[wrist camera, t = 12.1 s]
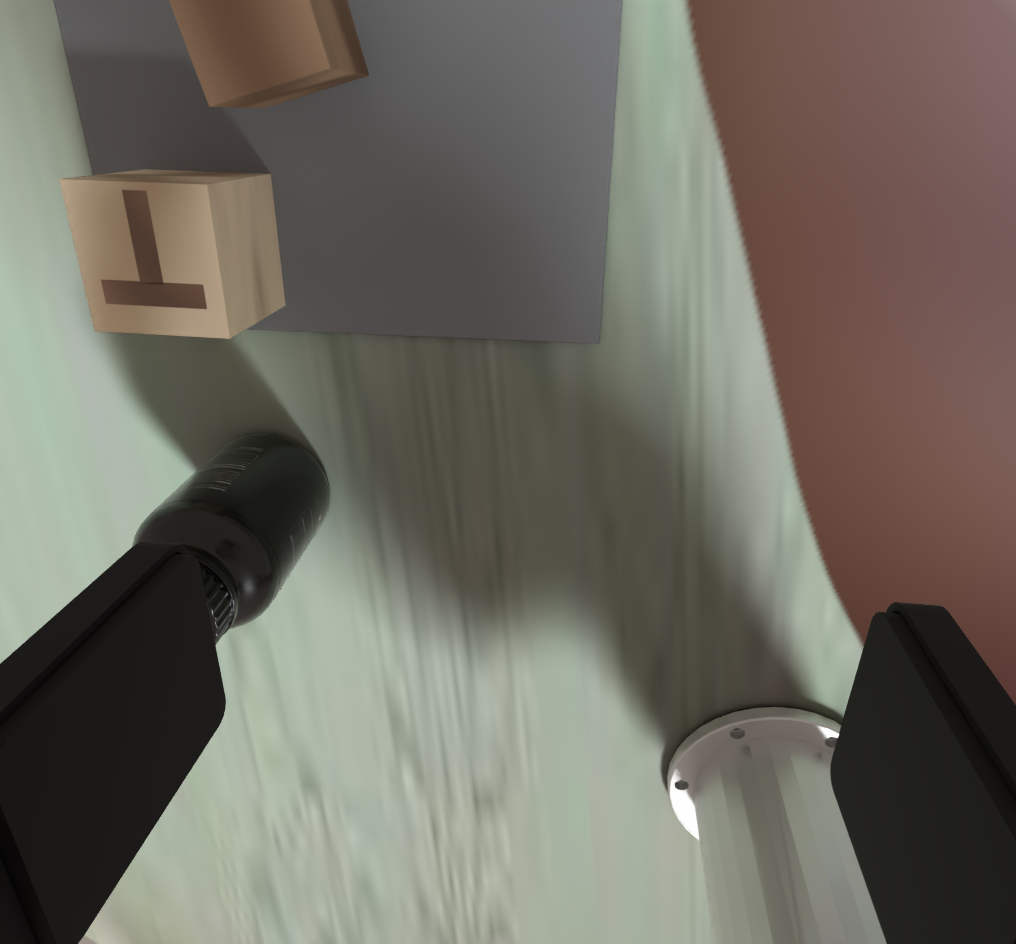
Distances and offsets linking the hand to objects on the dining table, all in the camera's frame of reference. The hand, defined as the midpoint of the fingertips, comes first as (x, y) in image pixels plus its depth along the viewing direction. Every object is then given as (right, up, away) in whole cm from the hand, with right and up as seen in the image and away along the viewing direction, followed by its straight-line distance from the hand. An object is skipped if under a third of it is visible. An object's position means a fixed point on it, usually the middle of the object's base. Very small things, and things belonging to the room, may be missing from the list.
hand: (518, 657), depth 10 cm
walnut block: (-9, +21, +20) cm, 31 cm away
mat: (-8, +17, +22) cm, 29 cm away
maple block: (-15, +11, +19) cm, 26 cm away
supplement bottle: (-13, +2, +31) cm, 33 cm away
